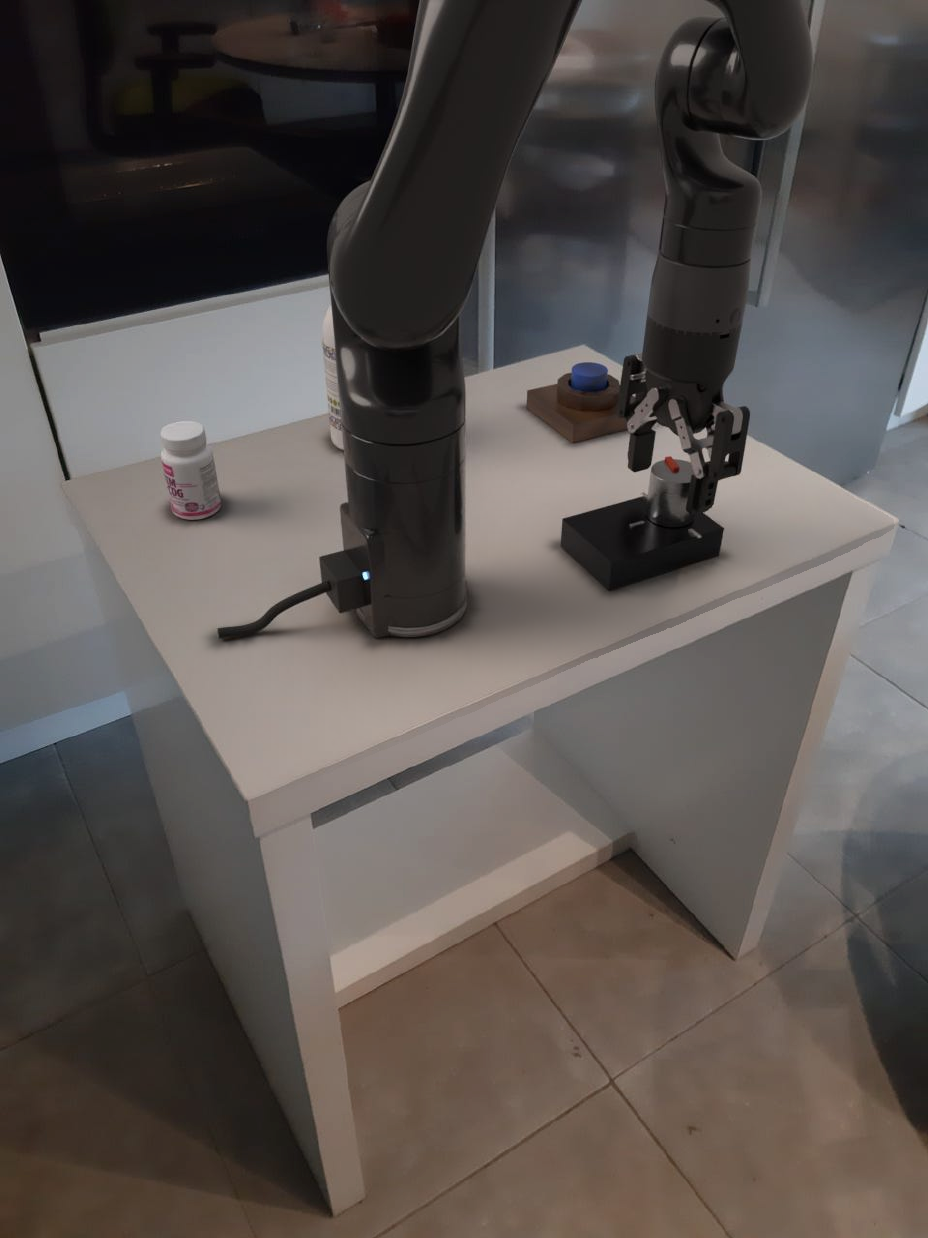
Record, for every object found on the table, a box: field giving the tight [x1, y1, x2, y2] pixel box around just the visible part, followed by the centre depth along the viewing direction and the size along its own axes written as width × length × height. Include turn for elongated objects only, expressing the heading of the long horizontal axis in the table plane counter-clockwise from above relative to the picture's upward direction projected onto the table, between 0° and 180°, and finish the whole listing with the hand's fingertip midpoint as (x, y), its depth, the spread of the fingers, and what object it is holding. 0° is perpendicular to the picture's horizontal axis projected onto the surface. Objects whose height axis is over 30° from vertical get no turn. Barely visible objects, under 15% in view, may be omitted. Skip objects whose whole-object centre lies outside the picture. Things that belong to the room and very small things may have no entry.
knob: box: [646, 455, 695, 527], centre depth 87 cm, size 4×4×5 cm
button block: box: [526, 371, 635, 444], centre depth 111 cm, size 10×10×4 cm
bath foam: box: [321, 304, 344, 451], centre depth 101 cm, size 7×7×20 cm
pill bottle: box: [159, 420, 222, 521], centre depth 93 cm, size 5×5×8 cm
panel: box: [560, 491, 725, 592], centre depth 89 cm, size 13×9×3 cm, turn 117°
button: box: [570, 361, 609, 392], centre depth 109 cm, size 4×4×2 cm
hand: (667, 489), depth 88 cm, fingers open, 8 cm apart
